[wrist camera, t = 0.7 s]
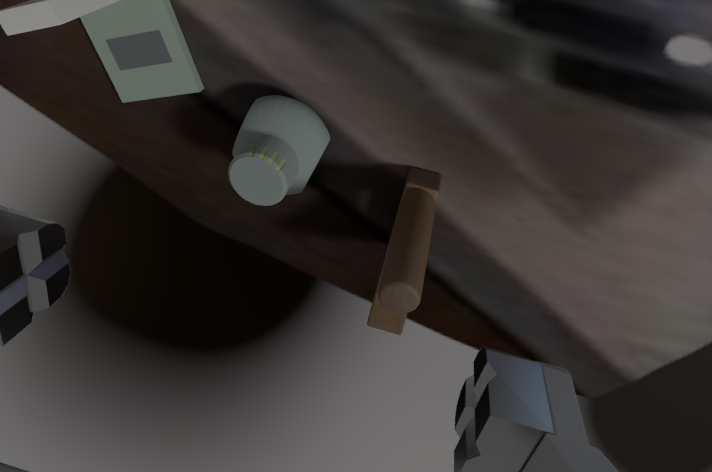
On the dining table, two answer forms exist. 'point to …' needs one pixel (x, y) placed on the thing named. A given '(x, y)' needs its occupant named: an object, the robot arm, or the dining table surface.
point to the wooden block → (406, 253)
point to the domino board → (142, 49)
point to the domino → (46, 13)
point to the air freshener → (276, 149)
